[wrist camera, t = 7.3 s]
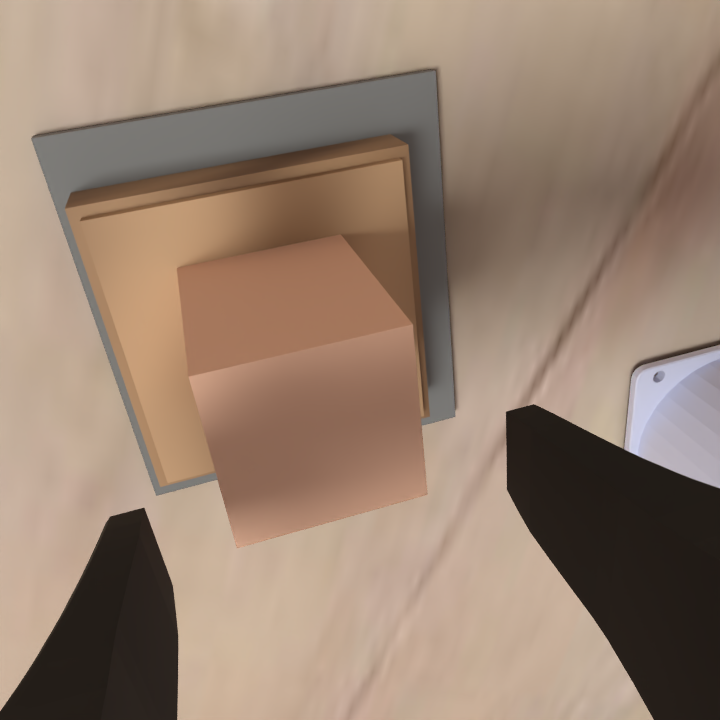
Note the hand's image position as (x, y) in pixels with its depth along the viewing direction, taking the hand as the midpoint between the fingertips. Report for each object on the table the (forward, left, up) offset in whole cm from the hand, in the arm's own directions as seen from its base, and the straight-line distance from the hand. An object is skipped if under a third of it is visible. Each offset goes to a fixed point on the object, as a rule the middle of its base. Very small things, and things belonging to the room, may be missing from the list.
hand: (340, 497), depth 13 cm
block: (0, 0, -8) cm, 8 cm away
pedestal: (0, 0, -10) cm, 10 cm away
